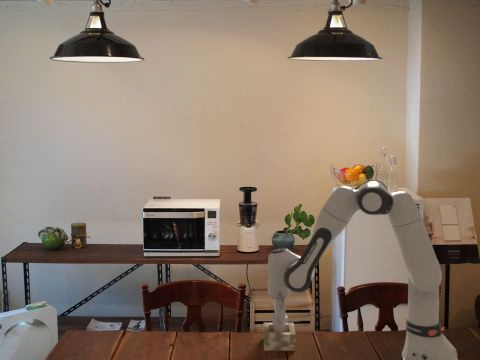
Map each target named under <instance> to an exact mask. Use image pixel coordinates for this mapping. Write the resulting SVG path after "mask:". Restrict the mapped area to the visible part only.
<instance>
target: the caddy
mask: <svg viewBox="0 0 480 360" xmlns="http://www.w3.org/2000/svg"><path fill="white" fill-rule="evenodd" d="M262 327H263V335H262V336H263V351H265V352H267V351H270V352H271V351H277V352H278V351H284V352H285V351H286V352H287V351H294V352H295V351H296V330H295V324H294V322H286V329H285V332H274V328H273V322H263V325H262Z"/></svg>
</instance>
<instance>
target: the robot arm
mask: <svg viewBox="0 0 480 360" xmlns="http://www.w3.org/2000/svg"><path fill="white" fill-rule="evenodd" d="M359 210H360V211H361V212H363V213H365V214H366V215H370V216H376V215H377V216H378V215H382V216H383V215H386V216H387V217H388V219H389V221H390V225H391V228H392V230H393V233H394V235H395V236H394V237H395V238H396V240H397V241H396V242H397V243H398V246H399V249H400V251H401V255H402V259H403V261H404V265H405V267H406V270H407V273H408V274H407V276H408V277H407V278H408V281H407V282H408V283H407V286H408V287H407V288H408V289H407V290H408V291H407V292H408V293H407V318H405V319H406V320H405V330H406V336H405V340H404V341H405V342H404V346H403V350H402V352H401V357H402V360H458V352H457V349H456V348H455V347H454V345H453V344H452V343H451V341H449V340H448V339H447V337H446V336H445V335H444V333H443V331H445V329H446V328H445V326H443V327H442V325H441V323H440V321H439V320H440V319H439V317H440V316H439V315H440V284H441V283H442V279H443V274H442V273H443V272H442V269H441V265H440V263H439V260H438V258H437V254H436V253H435V250H434V249H435V248H434V247H433V244H432V241H431V239H430V235H429V232H428V230H427V228H426V225H425V221H424V219H423V217H422V214H421V212H420V210H419V207H418V205H417V203H416V202H415V199H414V198H413V196H412V195H411V194H410V193H409V192H408V191H396V192H390V191H389V189H388V187H387V186H386V185H385V184H384V182H382V181H381V180H376V179H371V180H367V181H365V182H363V183H362V184H360V185H358V186H356V187H355V188H352V187H350V186H344V185H342V186H338V187H337V188H336V189H335V190H334V191H333V192H332V194H330V196H329V197H328V198H327V200H326V201H325V203H324V205H323V206H322V208H321V209H320V212H319V214H318V217H317V218H316V221H315V224H314V228H313V231H312V234H311V238H310V240H309V242H308V244H307V245H306V248H305V249H304V251H303V253H302V254H301V255H299V254H296V253H294V252H292V251H291V250H290V249H289V248H286V247H278V248H276V249H273V250H272V251H270V253H269V254H268V259H267V260H268V261H267V273H268V279H267V295H268V296H269V297H270V298H271V299H272V301H273V308H274V309H273V310H274V313H275V318H276V321H277V323H278V329H282V324H283V321H285V314H286V301H285V300H287V299H288V297H289V296H290V295H291V291H292V292H294V293H303V292H305V291H307V290H308V289H309V288H310V286H311V283H312V280H313V278H314V275H315V273H316V266H317V264H318V263H319V261H320V259H321V257H322V256H323V254H324V253H325V251H326V250H327V249H328V247H330V245H331V244H332V243H333V242H334V241H335V240H336V239H337V238H338V237H339V236H340V235H341V233H343V231H344V230H345V228H346V227H347V226H348V225H349V223H350V221H351V219H352V218H353V216H354V215H355V213H356V212H358V211H359ZM280 309H281V310H280Z"/></svg>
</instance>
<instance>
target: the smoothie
mask: <svg viewBox="0 0 480 360" xmlns="http://www.w3.org/2000/svg"><path fill="white" fill-rule="evenodd" d="M280 310H281V309H280ZM270 316H271V320H272V323H273V328H274V332H285V329H286V323H288V322H287V321H288V317H289V316H288V315H287V314H286V313H285V321H283V324H282V329H278V323H277V321H276V318H275V312H274V313H273V314H271V315H270Z"/></svg>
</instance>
